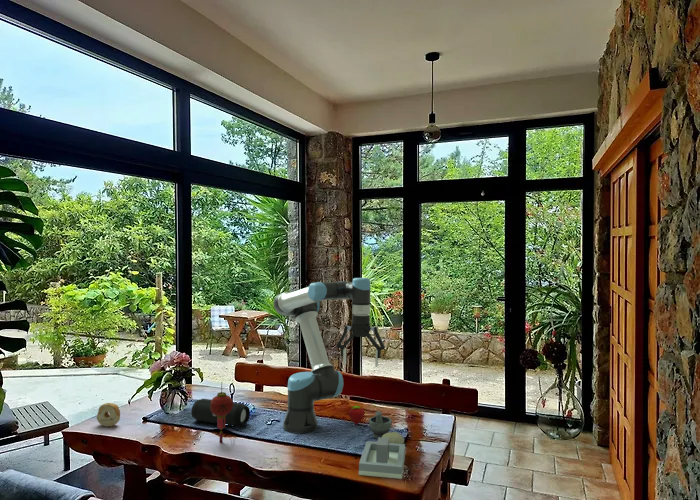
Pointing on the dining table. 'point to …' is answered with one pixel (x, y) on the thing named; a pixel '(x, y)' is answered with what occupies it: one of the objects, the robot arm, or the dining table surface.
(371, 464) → the grey rectangular tray
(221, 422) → the lantern
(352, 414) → the decorative fruit
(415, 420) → the dining table surface
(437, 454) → the dining table surface
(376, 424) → the mortar and pestle
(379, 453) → the grey upright block
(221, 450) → the dining table surface
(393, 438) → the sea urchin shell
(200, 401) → the portable speaker
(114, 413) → the stone disc
